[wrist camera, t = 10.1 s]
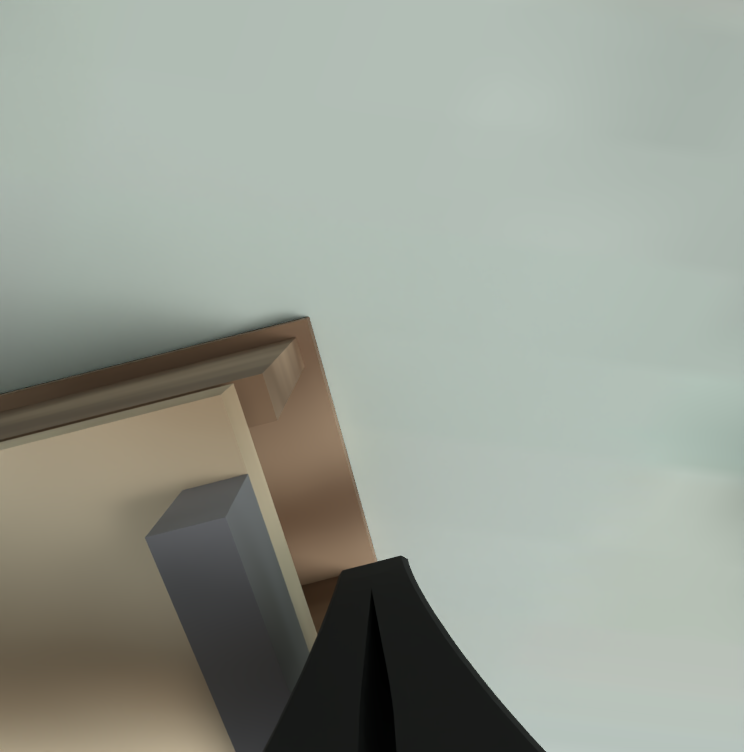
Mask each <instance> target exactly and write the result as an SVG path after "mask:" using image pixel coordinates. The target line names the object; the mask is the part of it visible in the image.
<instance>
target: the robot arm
mask: <svg viewBox="0 0 744 752" xmlns="http://www.w3.org/2000/svg"><path fill="white" fill-rule="evenodd" d="M262 752H546V751H545V750H544V749H543V748H542V747H541V746H540V745H539V744H538V743H537V742H536V741H535V740H534V738H533V737H532V736H531V735H530V734H529V733H528V732H527V731H526V730H525V728H524V727H523V726H522V725H521V724H520V723H519V722H518V721H517V719H516V718H515V717H514V716H513V715H512V714H511V713H510V712H509V710H508V709H507V708H506V707H505V706H504V705H503V703H502V702H501V701H500V700H499V699H498V697H497V696H496V695H495V694H494V693H493V691H492V690H491V689H490V688H489V687H488V685H487V684H486V683H485V682H484V680H483V679H482V678H481V677H480V675H479V674H478V673H477V671H476V670H475V669H474V668H473V666H472V665H471V664H470V662H469V661H468V660H467V659H466V657H465V656H464V655H463V653H462V652H461V651H460V649H459V648H458V646H457V645H456V644H455V642H454V641H453V640H452V638H451V637H450V635H449V634H448V632H447V631H446V629H445V628H444V626H443V625H442V623H441V622H440V620H439V619H438V617H437V616H436V615H435V613H434V611H433V610H432V608H431V607H430V605H429V603H428V602H427V600H426V598H425V596H424V595H423V593H422V591H421V589H420V588H419V586H418V584H417V582H416V580H415V578H414V576H413V573H412V571H411V568H410V566H409V562H408V559H406V558H405V557H403V556H397V557H394V558H390V559H386V560H382V561H378V562H374V563H370V564H366V565H362V566H358V567H354V568H350V569H346V570H342V572H341V574H340V575H339V577H338V580H337V583H336V586H335V589H334V592H333V595H332V598H331V601H330V603H329V606H328V609H327V611H326V614H325V617H324V619H323V622H322V624H321V627H320V630H319V632H318V634H317V637H316V639H315V642H314V644H313V646H312V649H311V651H310V653H309V656H308V658H307V660H306V663H305V665H304V668H303V670H302V672H301V674H300V676H299V679H298V681H297V683H296V685H295V687H294V689H293V691H292V693H291V695H290V697H289V699H288V702H287V704H286V706H285V708H284V710H283V712H282V714H281V716H280V718H279V720H278V722H277V724H276V726H275V728H274V730H273V732H272V734H271V736H270V738H269V740H268V742H267V744H266V746H265V748H264V750H263V751H262Z"/></svg>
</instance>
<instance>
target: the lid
mask: <svg viewBox="0 0 744 752" xmlns="http://www.w3.org/2000/svg"><path fill="white" fill-rule="evenodd" d="M316 637H317V632H316V629H315V626H314V623H313V620H312V617H311V614H310V611H309V608H308V605H307V602H306V599H305V596H304V593H303V590H302V587H301V584H300V581H299V578H298V575H297V572H296V569H295V566H294V563H293V560H292V557H291V554H290V551H289V548H288V545H287V542H286V539H285V536H284V533H283V530H282V527H281V524H280V521H279V518H278V515H277V512H276V509H275V506H274V503H273V500H272V497H271V494H270V491H269V488H268V485H267V482H266V479H265V476H264V473H263V470H262V467H261V464H260V461H259V458H258V455H257V452H256V449H255V446H254V443H253V440H252V437H251V434H250V431H249V428H248V425H247V422H246V419H245V416H244V413H243V410H242V407H241V404H240V401H239V398H238V395H237V392H236V389H235V386H234V383H233V384H229V385H225V386H221V387H217V388H213V389H209V390H205V391H201V392H198V393H194V394H190V395H186V396H182V397H178V398H174V399H170V400H166V401H162V402H158V403H154V404H150V405H146V406H142V407H138V408H134V409H130V410H126V411H122V412H118V413H114V414H110V415H106V416H102V417H98V418H94V419H91V420H87V421H83V422H79V423H75V424H71V425H67V426H63V427H59V428H55V429H51V430H47V431H43V432H39V433H35V434H31V435H27V436H23V437H19V438H15V439H11V440H7V441H3V442H0V752H262V751H263V750H264V748H265V746H266V744H267V742H268V740H269V738H270V736H271V734H272V732H273V730H274V728H275V726H276V724H277V722H278V720H279V718H280V716H281V714H282V712H283V710H284V708H285V706H286V704H287V702H288V699H289V697H290V695H291V693H292V691H293V689H294V687H295V685H296V683H297V681H298V679H299V676H300V674H301V672H302V670H303V668H304V665H305V663H306V660H307V658H308V656H309V653H310V651H311V649H312V646H313V644H314V642H315V639H316Z"/></svg>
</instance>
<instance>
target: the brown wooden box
mask: <svg viewBox="0 0 744 752" xmlns="http://www.w3.org/2000/svg"><path fill="white" fill-rule="evenodd" d="M233 383H234V386H235V389H236V392H237V395H238V398H239V401H240V404H241V407H242V410H243V413H244V416H245V419H246V422H247V425H248V428H249V431H250V434H251V437H252V440H253V443H254V446H255V449H256V452H257V455H258V458H259V461H260V464H261V467H262V470H263V473H264V476H265V479H266V482H267V485H268V488H269V491H270V494H271V497H272V500H273V503H274V506H275V509H276V512H277V515H278V518H279V521H280V524H281V527H282V530H283V533H284V536H285V539H286V542H287V545H288V548H289V551H290V554H291V557H292V560H293V563H294V566H295V569H296V572H297V575H298V578H299V581H300V584H301V587H302V590H303V593H304V596H305V599H306V602H307V605H308V608H309V611H310V614H311V617H312V620H313V623H314V626H315V629H316V632H317V634H318V632H319V630H320V627H321V624H322V622H323V619H324V617H325V614H326V611H327V609H328V606H329V603H330V601H331V598H332V595H333V592H334V589H335V586H336V583H337V580H338V577H339V575H340V574H341V572H342V570H346V569H350V568H354V567H358V566H362V565H366V564H370V563H374V562H377V559H376V555H375V552H374V548H373V544H372V541H371V537H370V534H369V530H368V526H367V523H366V519H365V516H364V512H363V508H362V505H361V501H360V498H359V494H358V490H357V487H356V483H355V480H354V476H353V473H352V469H351V465H350V462H349V458H348V455H347V451H346V447H345V444H344V440H343V437H342V433H341V429H340V426H339V422H338V419H337V415H336V412H335V408H334V404H333V401H332V397H331V394H330V390H329V386H328V383H327V379H326V376H325V372H324V368H323V365H322V361H321V358H320V354H319V351H318V347H317V343H316V340H315V336H314V333H313V329H312V325H311V322H310V318H309V317H305V318H301V319H297V320H293V321H289V322H285V323H281V324H277V325H273V326H269V327H265V328H261V329H257V330H253V331H249V332H246V333H242V334H238V335H234V336H230V337H226V338H222V339H218V340H214V341H210V342H206V343H202V344H198V345H194V346H190V347H186V348H182V349H178V350H174V351H170V352H166V353H162V354H158V355H154V356H150V357H146V358H142V359H138V360H134V361H130V362H126V363H122V364H118V365H115V366H111V367H107V368H103V369H99V370H95V371H91V372H87V373H83V374H79V375H75V376H71V377H67V378H63V379H59V380H55V381H51V382H47V383H43V384H39V385H35V386H31V387H27V388H23V389H19V390H15V391H11V392H7V393H3V394H0V442H3V441H7V440H11V439H15V438H19V437H23V436H27V435H31V434H35V433H39V432H43V431H47V430H51V429H55V428H59V427H63V426H67V425H71V424H75V423H79V422H83V421H87V420H91V419H94V418H98V417H102V416H106V415H110V414H114V413H118V412H122V411H126V410H130V409H134V408H138V407H142V406H146V405H150V404H154V403H158V402H162V401H166V400H170V399H174V398H178V397H182V396H186V395H190V394H194V393H198V392H201V391H205V390H209V389H213V388H217V387H221V386H225V385H229V384H233Z"/></svg>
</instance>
